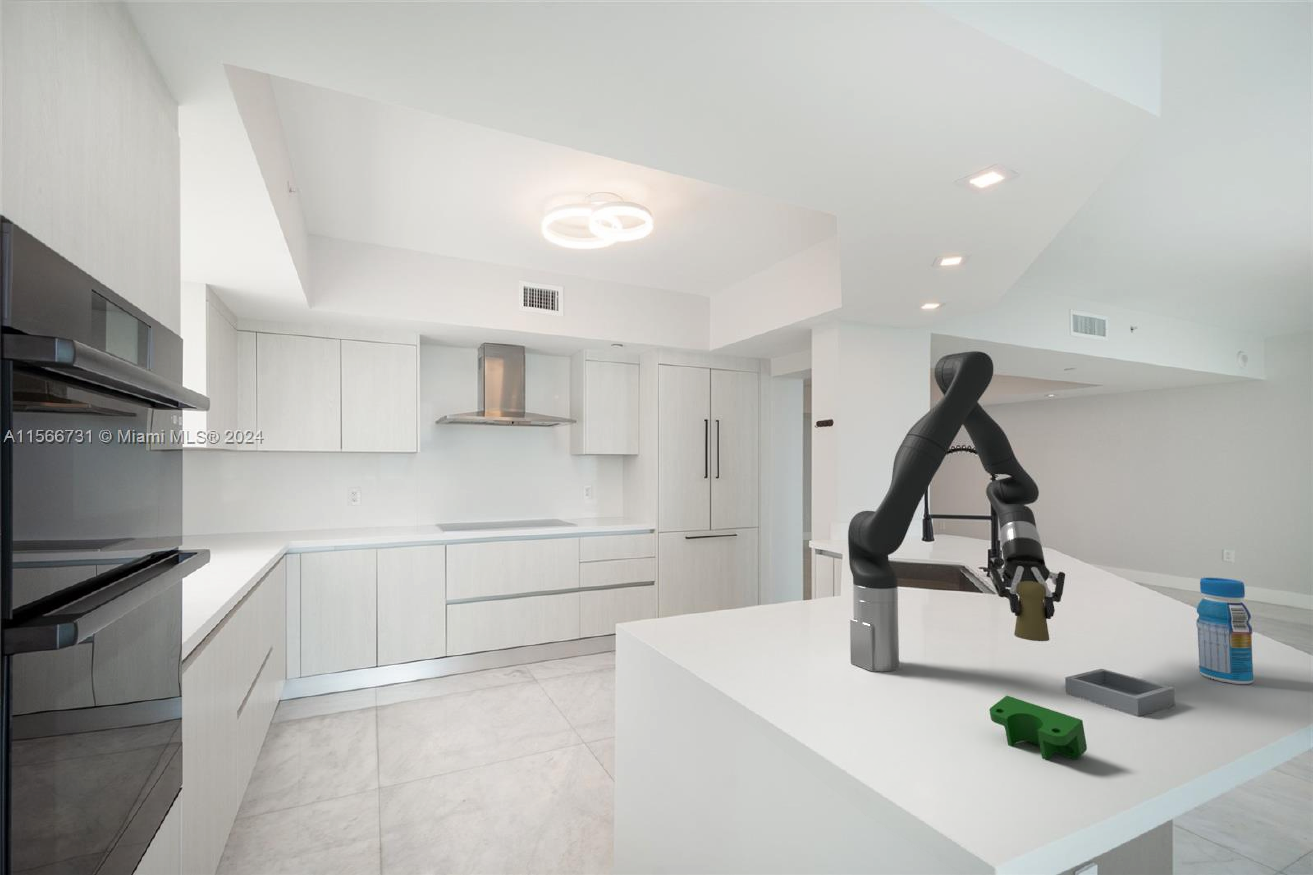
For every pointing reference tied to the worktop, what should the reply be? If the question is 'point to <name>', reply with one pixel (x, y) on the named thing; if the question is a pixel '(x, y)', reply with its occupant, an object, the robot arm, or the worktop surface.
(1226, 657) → the beverage bottle
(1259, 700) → the worktop surface
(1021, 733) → the clamp
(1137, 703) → the tray
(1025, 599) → the cork
